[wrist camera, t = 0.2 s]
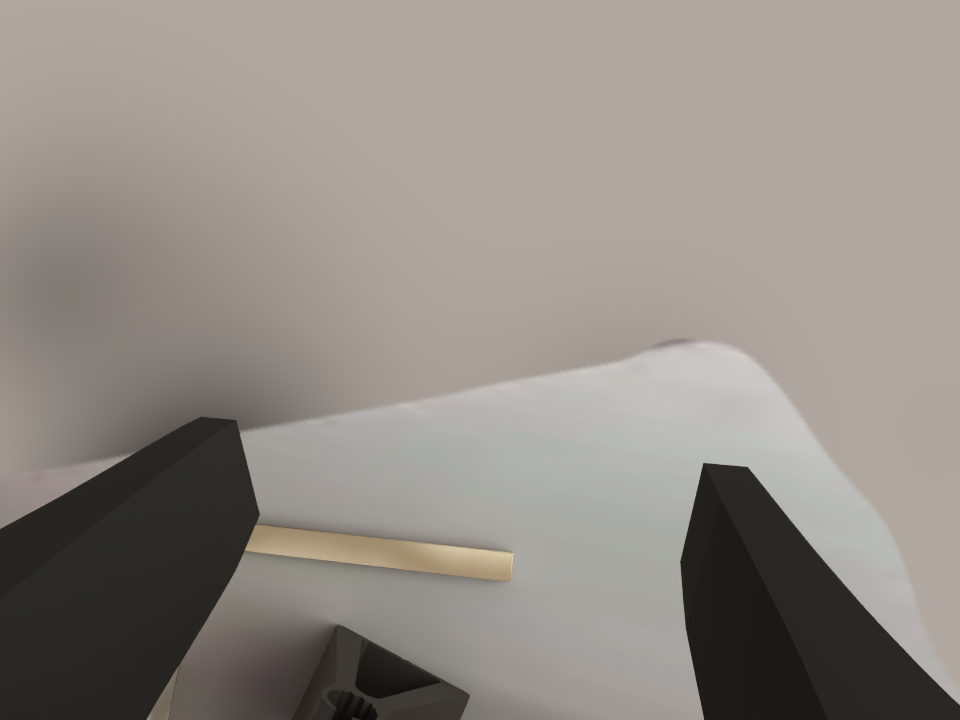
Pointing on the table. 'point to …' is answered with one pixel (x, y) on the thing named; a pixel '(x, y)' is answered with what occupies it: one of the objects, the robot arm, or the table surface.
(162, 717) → the bar
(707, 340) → the table surface
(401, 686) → the phone stand
